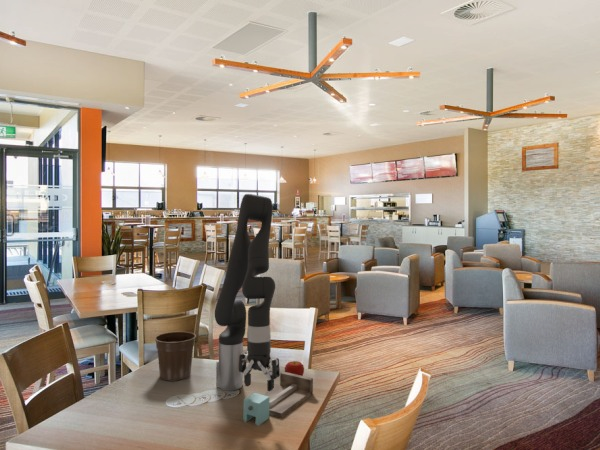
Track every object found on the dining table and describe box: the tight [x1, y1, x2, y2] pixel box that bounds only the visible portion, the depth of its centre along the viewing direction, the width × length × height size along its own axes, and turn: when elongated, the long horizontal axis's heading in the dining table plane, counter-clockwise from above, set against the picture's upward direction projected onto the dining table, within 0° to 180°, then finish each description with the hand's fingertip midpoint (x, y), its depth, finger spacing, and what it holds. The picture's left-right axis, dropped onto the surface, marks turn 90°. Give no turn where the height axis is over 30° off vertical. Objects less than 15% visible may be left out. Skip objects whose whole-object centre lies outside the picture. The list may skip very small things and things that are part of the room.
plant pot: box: [154, 331, 197, 382], centre depth 180 cm, size 16×16×16 cm
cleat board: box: [264, 371, 314, 419], centre depth 157 cm, size 13×22×6 cm, turn 151°
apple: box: [284, 360, 305, 376], centre depth 177 cm, size 8×8×8 cm
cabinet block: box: [242, 392, 270, 426], centre depth 143 cm, size 6×7×7 cm
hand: (259, 388), depth 143 cm, fingers open, 8 cm apart
